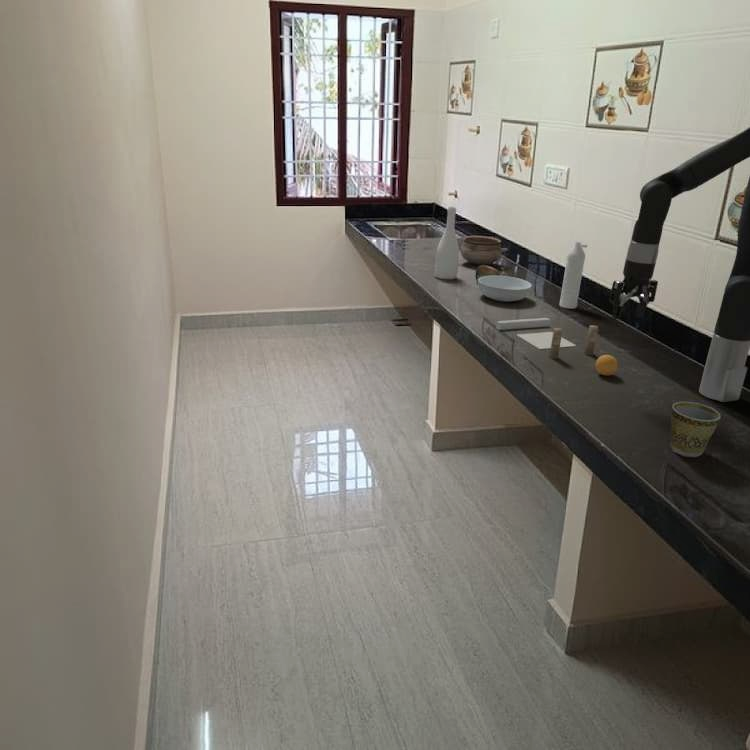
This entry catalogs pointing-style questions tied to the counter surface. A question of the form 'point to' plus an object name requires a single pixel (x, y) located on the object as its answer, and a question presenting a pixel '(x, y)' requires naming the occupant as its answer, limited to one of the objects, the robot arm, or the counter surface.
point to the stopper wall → (522, 323)
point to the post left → (555, 343)
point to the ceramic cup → (692, 427)
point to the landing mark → (543, 340)
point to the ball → (606, 365)
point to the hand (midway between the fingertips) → (627, 317)
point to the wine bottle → (448, 250)
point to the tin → (485, 271)
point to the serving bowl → (504, 288)
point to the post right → (591, 340)
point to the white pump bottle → (572, 276)
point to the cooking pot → (481, 250)
